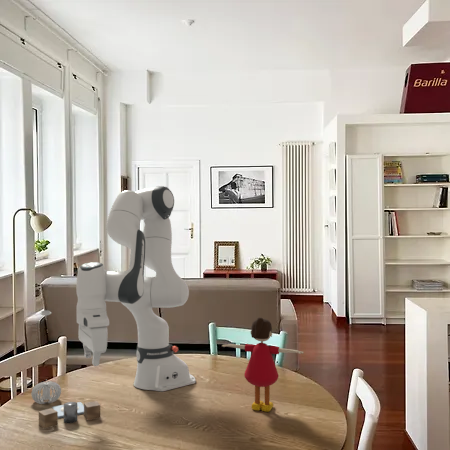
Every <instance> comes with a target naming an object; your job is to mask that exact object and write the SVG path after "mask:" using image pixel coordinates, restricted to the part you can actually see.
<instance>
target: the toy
mask: <svg viewBox="0 0 450 450" xmlns="http://www.w3.org/2000/svg"><path fill="white" fill-rule="evenodd" d="M272 327H273V326H272V323H271V321H270V320H268V319H266V318H262V317H258V318H257V319H255V320H253V321H252V324H251V329H250V335H251V338H253V339H254V340H255V341H258V343H256V344H251V343H250V344H249V343H245V344H233V343H232V344H231V343H229V344H228V343H227V344H222V345H221V347H223V348H225V347H228V348H234V349H239V350H244V351H245V352H246V353H247V352H249V353H251V355H250V358H249V360H248V363H247V366H246V368H245V371H244V378H245V380H246V381H247V382H248V383H249V384H251V385H253V386H254V401H253V403H252V404H251V409H252V411H253V410H254V411H260V410H261V411H262V412H267V413H268V412H270V411H271V410H272V408H274V403H273V401H270V397H271V395H270V393H271V391H270V390H271V389H270V388H271V387H270V386H272V385H273V384H275V383H276V382H277V381H278V379H279V372H278V369H277V366H276V363H275V361H274V358H273V355H279V354H280V353H282V354H284V353H285V354H286V353H290V354H292V353H293V354H299V355H300V354H304V351H301V350H298V349H290V348H280V346H276V345H274V346H273V345H270V346H269V345H268V344H267V343H265V342H266V341H268V340H270V339H271V338H272V337H273V331H272V330H273V329H272ZM261 388H264V401H263V400H261Z"/></svg>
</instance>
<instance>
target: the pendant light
mask: <svg viewBox="0 0 450 450" xmlns="http://www.w3.org/2000/svg"><path fill="white" fill-rule="evenodd" d="M39 314H40V315H42V316H45V317H47V316H49V315H51V314H52V312H51V311H50V310H41V312H40V313H39ZM51 391H52V392H51ZM30 393H31V397H32V398H31V399H32V400H33V401H34V402H35V403H37V404H38V405H39V404H40V405H42V404H43V405H45V404H52V403H55V402H56V401H57V400H58V399H59V398H60V397H61V394H62V387H61V385H60V384H58V382H56V381H50V380H49V381H48V380H45V381H41V382H39V383H37V384H35V385H34V386H33V388H32V389H31V392H30ZM47 400H48V401H47Z"/></svg>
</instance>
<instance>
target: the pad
mask: <svg viewBox="0 0 450 450" xmlns="http://www.w3.org/2000/svg"><path fill="white" fill-rule="evenodd" d="M76 403H77V416H78V415H79V416H80V415H84V403H82V402H81V401H77V402H76ZM51 408H52V409H54V410H55V411H57V412H58V419H62V418H63V419H64V404H61V405H60V404H59V405H55V406H51Z"/></svg>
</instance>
